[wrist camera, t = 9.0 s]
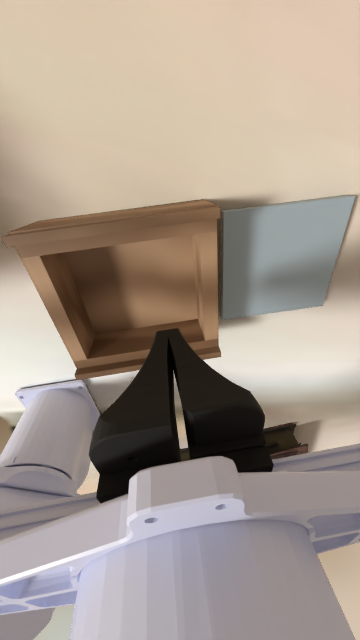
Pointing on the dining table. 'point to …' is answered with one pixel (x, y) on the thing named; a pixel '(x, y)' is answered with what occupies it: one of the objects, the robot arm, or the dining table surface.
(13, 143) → the dining table surface
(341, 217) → the cover plate
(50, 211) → the dining table surface
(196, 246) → the wooden box
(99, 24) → the dining table surface
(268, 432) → the diary
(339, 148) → the dining table surface
